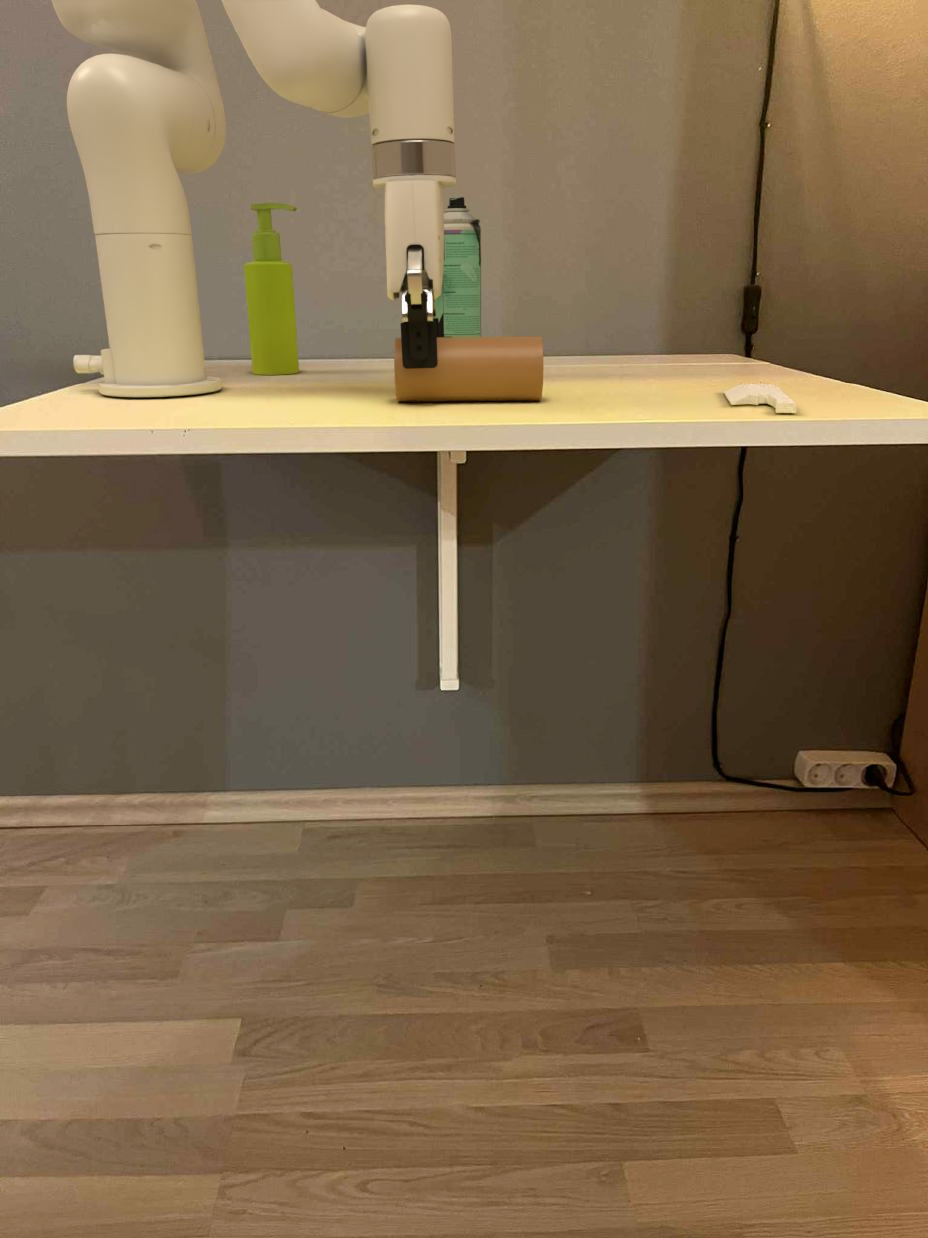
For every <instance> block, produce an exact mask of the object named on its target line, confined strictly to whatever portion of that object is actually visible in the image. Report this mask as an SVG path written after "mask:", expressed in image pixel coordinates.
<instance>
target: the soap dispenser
mask: <svg viewBox="0 0 928 1238" xmlns="http://www.w3.org/2000/svg"><path fill="white" fill-rule="evenodd" d="M250 210H251V211H253V212H255V211H256V218H257V219H256V220H257V230H255V231H254V232H253V233H252V232H251V242H252V243H251V244H252V255H253V261H251V262H247V263H244V264H243V271H244V272H243V273H244V285H245V297H246V307H247V308H246V309H247V320H248V332H249V333H248V334H249V345H250V356H251V367H252V368H251V369H252V370H251V371H252V374H253V375H259V376H260V375H261V376H282V375H294V374H298V373H300V365H299V364H300V363H299V348H298V347H299V346H298V335H297V319H296V303H295V290H294V273H293V263H290V262H288V261H287V262H286V261H282V248H281V236H280V235H281V234H280V233H279V232H277V231H276V230H273V219H272V211H273V210H285V211H286V210H287V211H290V212H296V211H297V210H298V207H296V206H293V205H290V204H287V203H282V202H281V203H280V202H261V203H253V204H250Z"/></svg>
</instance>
